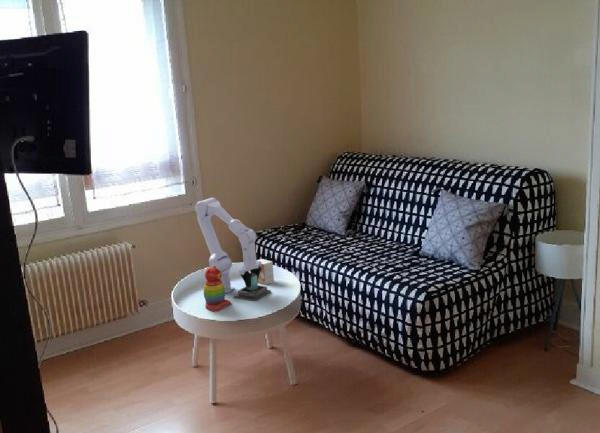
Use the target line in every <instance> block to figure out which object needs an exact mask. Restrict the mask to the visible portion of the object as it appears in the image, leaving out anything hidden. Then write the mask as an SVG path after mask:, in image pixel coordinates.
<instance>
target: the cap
mask: <svg viewBox="0 0 600 433" xmlns="http://www.w3.org/2000/svg"><path fill="white" fill-rule="evenodd" d="M258 285H259V283H258V282H257V274H255V273H252V276H251V287H247V289H248V290H255V289H257V288H258Z"/></svg>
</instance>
